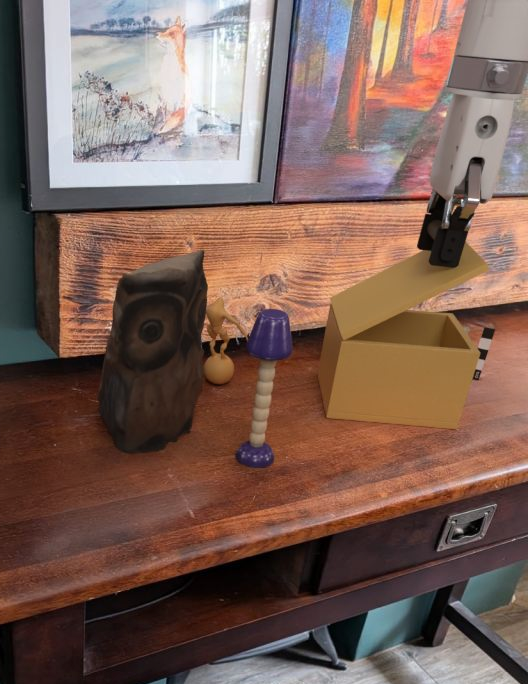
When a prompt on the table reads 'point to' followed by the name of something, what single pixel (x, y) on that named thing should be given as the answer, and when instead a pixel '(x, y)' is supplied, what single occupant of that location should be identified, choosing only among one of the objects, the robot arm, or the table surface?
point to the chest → (399, 370)
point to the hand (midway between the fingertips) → (436, 256)
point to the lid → (401, 288)
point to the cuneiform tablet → (481, 348)
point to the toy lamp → (265, 381)
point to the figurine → (221, 365)
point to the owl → (155, 354)
